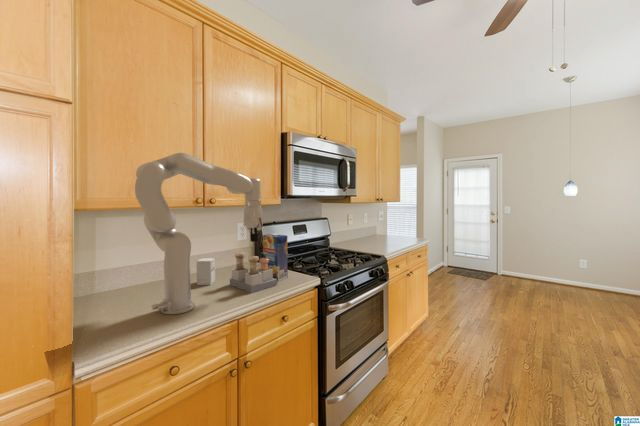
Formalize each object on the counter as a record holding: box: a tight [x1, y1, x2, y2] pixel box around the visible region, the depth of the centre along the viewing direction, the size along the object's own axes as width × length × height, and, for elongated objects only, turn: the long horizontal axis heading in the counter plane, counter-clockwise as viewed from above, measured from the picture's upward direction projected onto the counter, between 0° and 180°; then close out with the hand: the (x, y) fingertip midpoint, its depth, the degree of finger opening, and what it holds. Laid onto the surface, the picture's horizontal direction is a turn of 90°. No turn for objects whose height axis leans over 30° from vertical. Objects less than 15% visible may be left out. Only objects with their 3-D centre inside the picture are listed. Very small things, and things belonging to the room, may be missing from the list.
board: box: [229, 267, 278, 294], centre depth 149 cm, size 16×19×8 cm
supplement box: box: [196, 257, 216, 286], centre depth 151 cm, size 7×7×13 cm
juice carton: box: [262, 233, 289, 282], centre depth 161 cm, size 12×8×24 cm, turn 51°
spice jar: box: [248, 255, 260, 275], centre depth 141 cm, size 5×5×9 cm
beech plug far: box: [234, 252, 246, 271], centre depth 149 cm, size 5×5×9 cm
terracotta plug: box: [259, 257, 269, 271], centre depth 149 cm, size 5×5×9 cm
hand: (254, 241), depth 141 cm, fingers closed
